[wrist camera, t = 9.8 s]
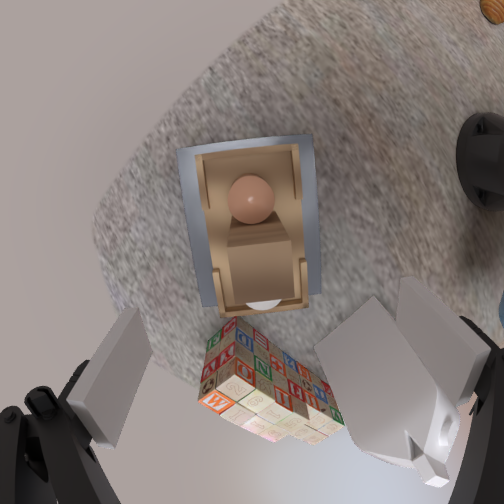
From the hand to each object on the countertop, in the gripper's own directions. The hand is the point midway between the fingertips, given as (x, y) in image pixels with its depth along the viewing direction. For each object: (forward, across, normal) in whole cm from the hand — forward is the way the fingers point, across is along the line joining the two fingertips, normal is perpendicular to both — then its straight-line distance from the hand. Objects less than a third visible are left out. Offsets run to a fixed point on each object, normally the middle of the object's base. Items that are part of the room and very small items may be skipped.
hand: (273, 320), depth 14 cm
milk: (+23, -14, +21) cm, 34 cm away
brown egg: (+15, 0, -4) cm, 16 cm away
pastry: (+24, -46, -36) cm, 63 cm away
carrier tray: (+18, 0, 0) cm, 19 cm away
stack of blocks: (+23, 0, +23) cm, 32 cm away
